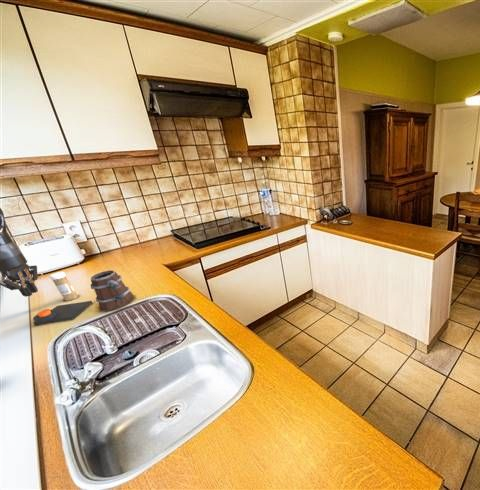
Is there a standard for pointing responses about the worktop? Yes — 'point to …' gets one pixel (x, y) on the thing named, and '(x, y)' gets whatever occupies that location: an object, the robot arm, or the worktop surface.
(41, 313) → the tare button
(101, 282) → the mug
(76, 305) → the scale
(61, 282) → the sprinkles bottle
